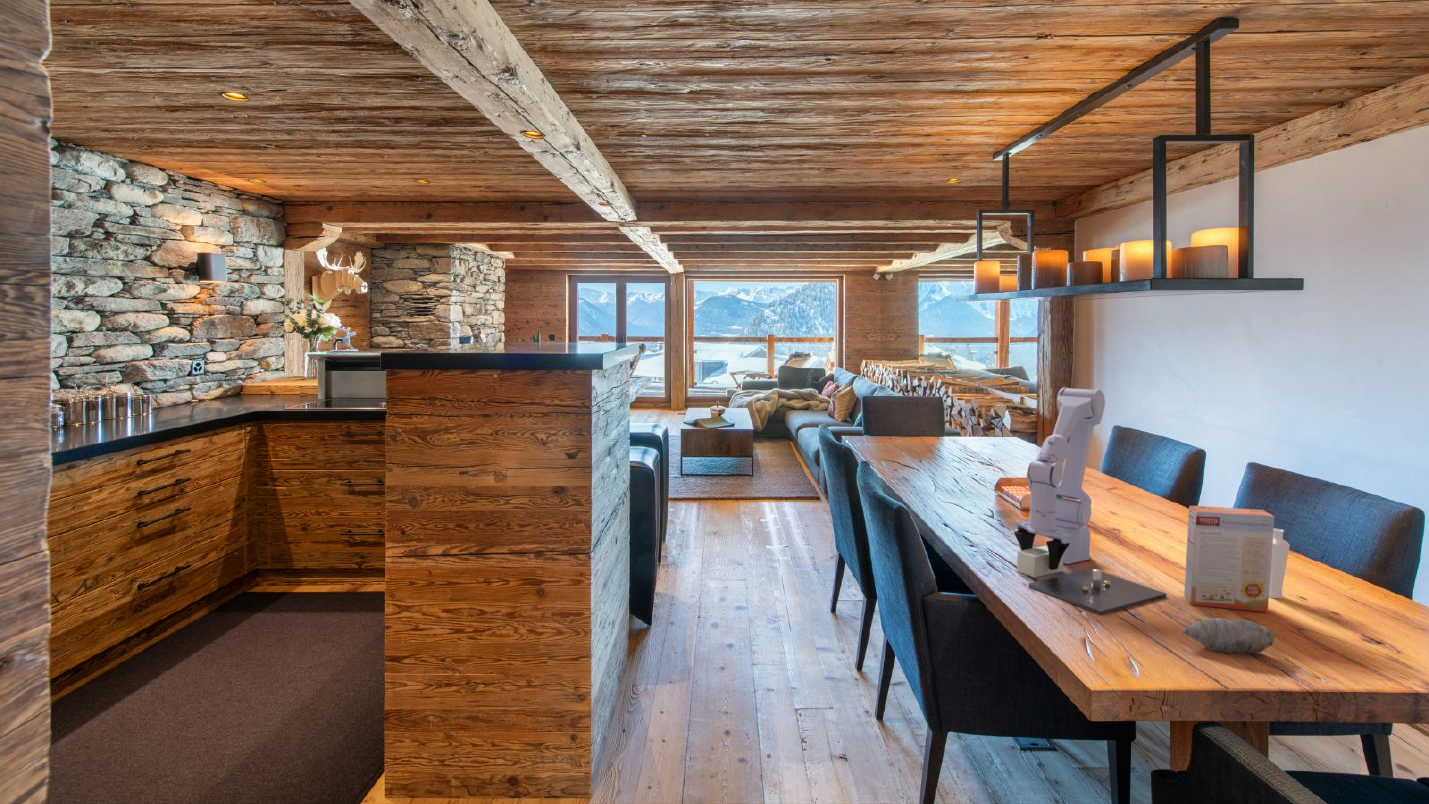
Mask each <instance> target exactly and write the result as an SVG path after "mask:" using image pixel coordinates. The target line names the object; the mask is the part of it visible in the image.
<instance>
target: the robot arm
mask: <svg viewBox="0 0 1429 804" xmlns="http://www.w3.org/2000/svg"><path fill="white" fill-rule="evenodd" d="M1105 401H1106V400H1105V394H1104V393H1103V391H1102V389H1085V388H1071V387H1067V386H1064V387H1062V388H1061V389H1060V390H1059V391H1058V392H1057V395H1056V406H1057V410H1058V416H1057V419H1056V423H1055V425H1054V428H1053V432H1052V435H1049V436H1047V437H1045V439H1044V441H1043V444H1042V446H1041V448H1040V451H1039V453H1038V456H1037V457H1036V459H1035V460H1034V461H1031V462H1029V465H1028V467H1027V471H1026V478H1027V482H1028V490H1029V491H1030V496H1029V497H1030V501H1029V502H1030V503H1029V504H1030V505H1029V518H1028V520H1029V521H1026V520H1022V519H1019V520H1015V521H1014V529H1016V531H1014V536H1015V537H1016V540H1017V542H1018V544H1019V545H1018V546H1019V547H1020V551H1022V550H1027V549H1032V548H1034V542H1035V538H1036V536H1037V535H1039V536H1042V537H1045V538H1048V539H1049V540H1047V541H1045V542H1046V546H1047V547H1048V551H1049V569H1050V570H1055V569H1058V566H1059V563H1060V560H1061V557H1062V555H1063V553H1064V558H1063V564H1067V565H1068V564H1070V565H1071V564H1074V563H1075V564H1076V563H1078V562H1079V563H1080V562H1083V561H1089V560H1092V559H1093V556H1090V551H1091V549H1090V548H1091V546H1090V545H1091V532H1090V529H1089V527H1088V526H1087V525H1088V524H1089V522H1090V520H1091V518H1092V517H1091V516H1092V498H1091V496H1090V495H1088V493H1087V492H1086V491H1084V489H1083V482H1084V477H1085V472H1086V468H1087V467H1086V466H1087V461H1088V456H1089V452H1090V448H1091V440H1092V436H1093V432H1094V428H1095V426H1097V425H1100V424H1101V422H1102V419H1103V415H1104V410H1105V405H1106V402H1105ZM1068 441H1069V442H1068ZM1064 461H1065V462H1064ZM1063 464H1064V465H1063Z"/></svg>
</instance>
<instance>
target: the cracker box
mask: <svg viewBox="0 0 1429 804" xmlns="http://www.w3.org/2000/svg"><path fill="white" fill-rule="evenodd" d="M1187 518H1188V520H1187V521H1188V522H1187V535H1186V537H1187V538H1186V555H1185V557H1186V558H1185V571H1184V572H1185V575H1184V589H1183V590H1184V594H1183V596H1184V597H1185V599H1186V600H1187V601H1188V603H1190V604H1191V606H1200V607H1201V606H1202V607H1211V608H1222V609H1232V610H1239V611H1241V610H1242V611H1248V612H1249V611H1252V612H1259V613H1268V612H1269V600H1270V599H1269V598H1270V597H1269V587H1270V573H1271V559H1272V545H1273V529H1274V528H1275V527H1274V526H1275V516H1274V515H1273V514H1271V513H1269V512H1267V511H1266V510H1265V509H1255V508H1254V509H1252V508H1251V509H1249V508H1236V507H1223V506H1222V507H1219V506H1205V505H1202V506H1201V505H1189V507H1188V517H1187Z"/></svg>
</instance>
